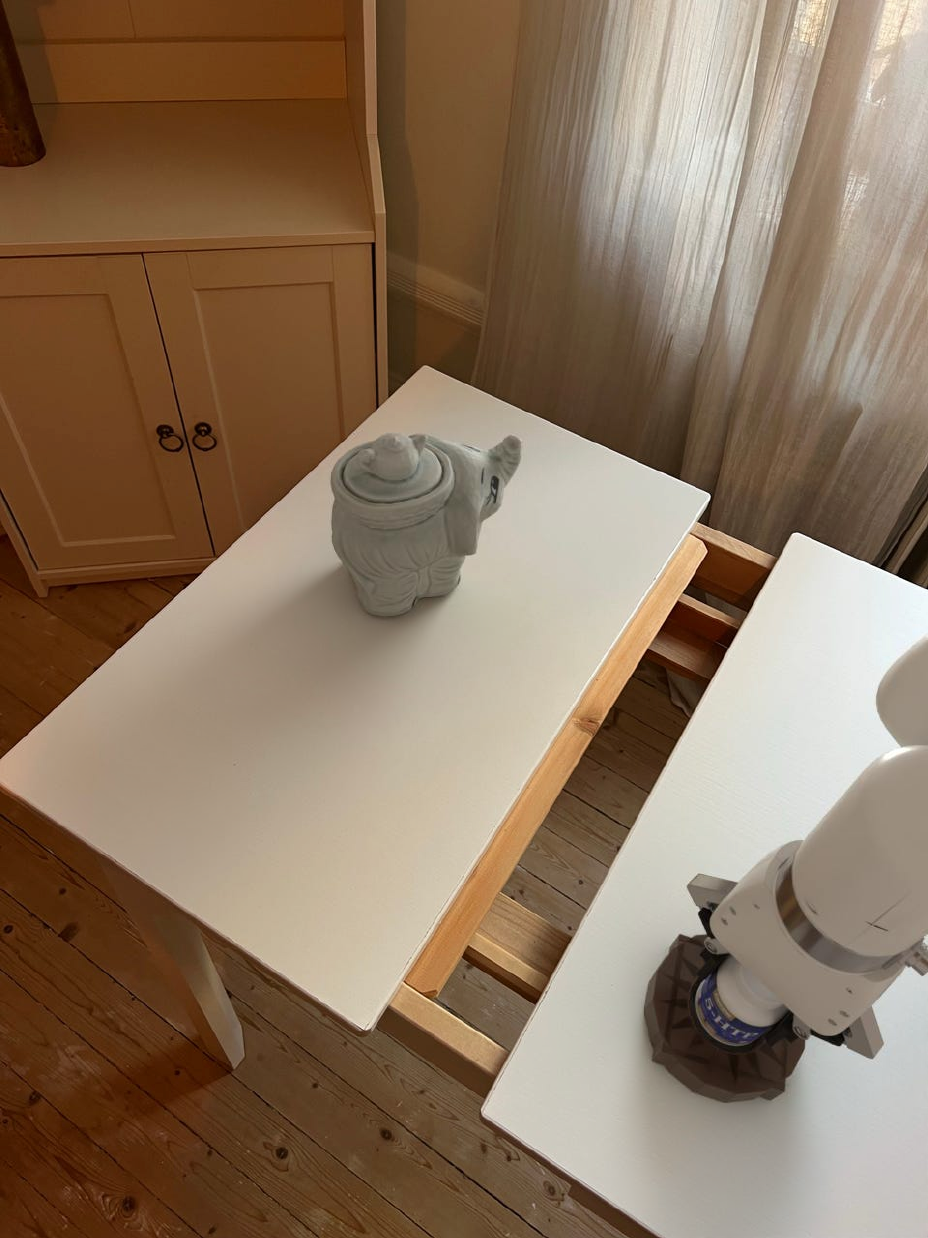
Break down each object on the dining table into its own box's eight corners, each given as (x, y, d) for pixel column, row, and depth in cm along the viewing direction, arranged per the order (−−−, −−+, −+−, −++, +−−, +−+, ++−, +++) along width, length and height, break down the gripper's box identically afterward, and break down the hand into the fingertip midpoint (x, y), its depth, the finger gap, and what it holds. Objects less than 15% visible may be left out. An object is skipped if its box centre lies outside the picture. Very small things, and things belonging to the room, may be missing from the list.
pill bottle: (681, 1018, 71) (716, 981, 64) (712, 960, 74) (748, 918, 67) (746, 1063, 69) (789, 1030, 62) (775, 1002, 72) (819, 964, 65)
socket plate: (657, 927, 78) (666, 914, 75) (796, 971, 76) (810, 959, 74) (632, 1073, 71) (642, 1063, 68) (785, 1123, 70) (800, 1115, 67)
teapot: (508, 533, 103) (533, 394, 88) (484, 644, 93) (508, 509, 79) (358, 504, 103) (357, 361, 89) (320, 611, 94) (313, 472, 79)
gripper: (1014, 971, 53) (874, 1053, 67) (762, 761, 59) (684, 876, 74) (946, 1070, 49) (814, 1134, 63) (687, 835, 56) (621, 941, 70)
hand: (745, 994), depth 68 cm, fingers closed on pill bottle, 5 cm apart
